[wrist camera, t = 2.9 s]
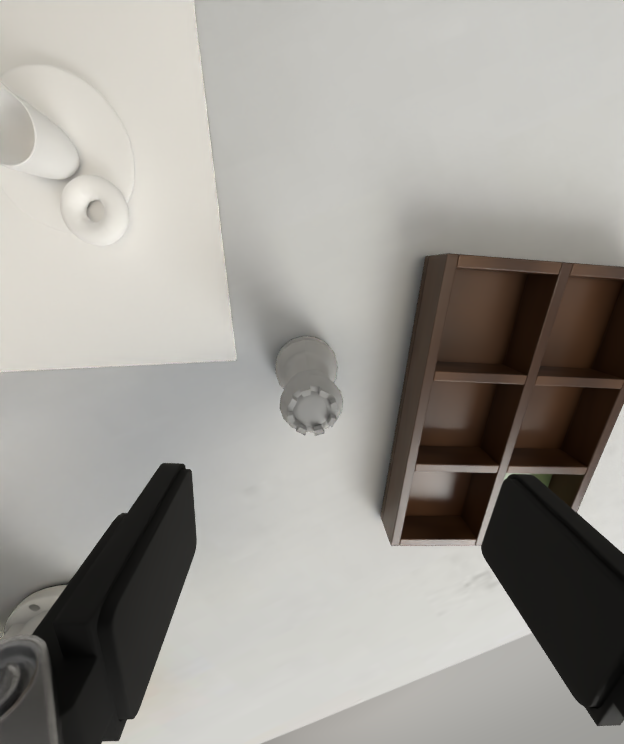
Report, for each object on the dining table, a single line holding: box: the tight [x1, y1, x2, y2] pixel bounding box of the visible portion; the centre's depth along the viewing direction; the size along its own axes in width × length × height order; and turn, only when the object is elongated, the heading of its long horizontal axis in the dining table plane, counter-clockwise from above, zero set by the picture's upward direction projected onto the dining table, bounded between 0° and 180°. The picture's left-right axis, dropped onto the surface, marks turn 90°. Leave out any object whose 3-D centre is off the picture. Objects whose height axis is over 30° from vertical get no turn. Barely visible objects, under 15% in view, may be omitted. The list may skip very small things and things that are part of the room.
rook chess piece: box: [275, 336, 343, 436], centre depth 18 cm, size 4×4×8 cm
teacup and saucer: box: [0, 63, 136, 247], centre depth 15 cm, size 9×8×4 cm
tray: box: [381, 254, 624, 546], centre depth 23 cm, size 15×22×3 cm
